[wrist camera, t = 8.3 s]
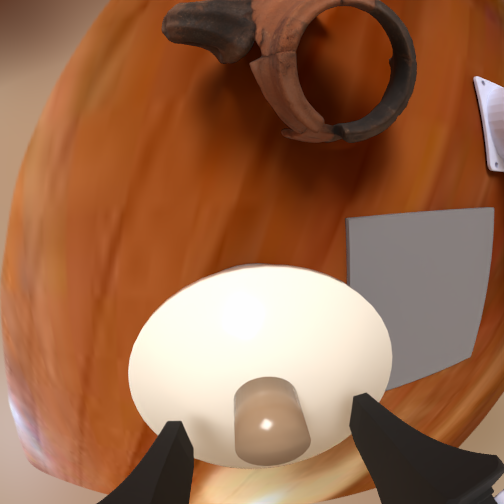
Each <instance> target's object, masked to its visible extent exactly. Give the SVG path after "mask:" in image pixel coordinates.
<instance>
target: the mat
mask: <svg viewBox="0 0 504 504" xmlns="http://www.w3.org/2000/svg"><path fill="white" fill-rule="evenodd" d="M345 220H346V246H347V285H348V286H350V287H351V288H353V289H354V290H356V291H357V292H358V293H359V294H360V295H361V296H362V297H363V298H364V299H365V300H366V301H368V302H369V303H370V304H371V305H372V306H373V307H374V309H375V310H376V311H377V313H378V314H379V316H380V317H381V318H382V320H383V322H384V324H385V326H386V328H387V331H388V334H389V338H390V341H391V347H392V368H391V373H390V378H389V382H388V384H387V387H386V389H385V391H387V390H390V389H393V388H396V387H399V386H402V385H404V384H407V383H410V382H413V381H415V380H418V379H421V378H423V377H426V376H428V375H431V374H433V373H436V372H438V371H440V370H443V369H445V368H447V367H450V366H452V365H454V364H456V363H458V362H461V361H463V360H465V359H467V358H469V357H471V354H472V351H473V347H474V344H475V340H476V337H477V333H478V329H479V325H480V321H481V316H482V312H483V307H484V302H485V297H486V291H487V285H488V279H489V272H490V264H491V255H492V244H493V229H494V208H492V207H484V208H468V209H452V210H438V211H424V212H411V213H399V214H387V215H375V216H364V217H353V218H345Z"/></svg>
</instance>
